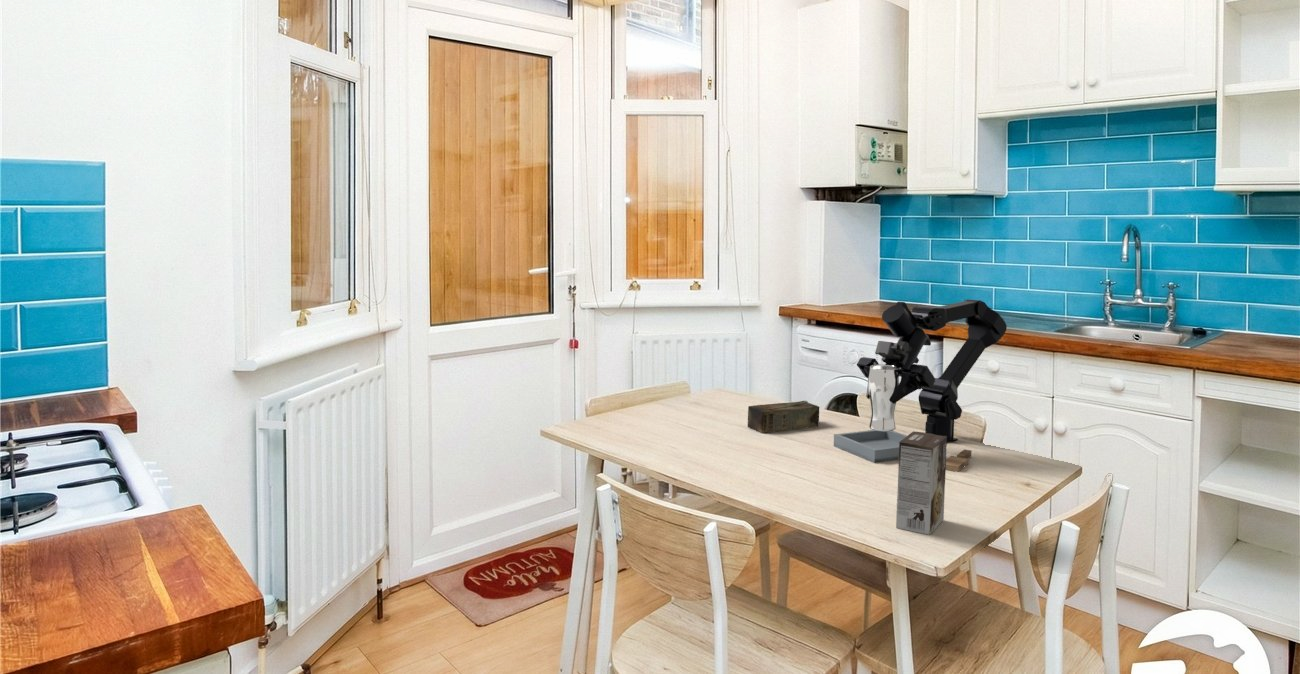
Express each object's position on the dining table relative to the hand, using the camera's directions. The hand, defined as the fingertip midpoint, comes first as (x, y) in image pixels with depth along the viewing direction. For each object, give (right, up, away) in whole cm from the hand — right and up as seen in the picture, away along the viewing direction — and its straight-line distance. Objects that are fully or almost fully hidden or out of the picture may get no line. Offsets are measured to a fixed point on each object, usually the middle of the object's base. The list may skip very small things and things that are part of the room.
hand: (879, 400), depth 188 cm
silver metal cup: (+1, -7, +2) cm, 7 cm away
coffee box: (-5, -19, -44) cm, 48 cm away
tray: (+2, -13, +5) cm, 14 cm away
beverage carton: (-18, -10, +30) cm, 36 cm away
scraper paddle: (+16, -14, -6) cm, 22 cm away
